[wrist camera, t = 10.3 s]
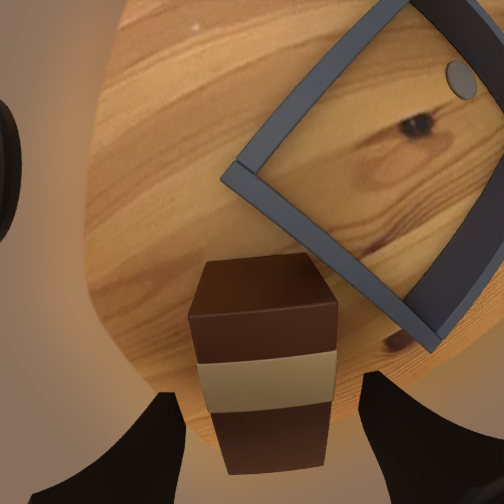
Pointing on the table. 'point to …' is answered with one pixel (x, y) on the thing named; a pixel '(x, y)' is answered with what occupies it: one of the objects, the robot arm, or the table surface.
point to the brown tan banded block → (266, 360)
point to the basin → (474, 226)
